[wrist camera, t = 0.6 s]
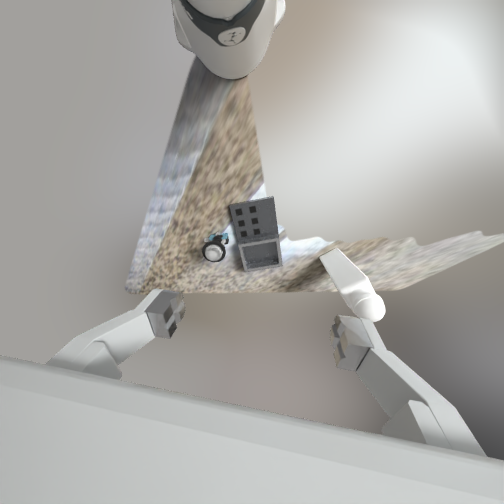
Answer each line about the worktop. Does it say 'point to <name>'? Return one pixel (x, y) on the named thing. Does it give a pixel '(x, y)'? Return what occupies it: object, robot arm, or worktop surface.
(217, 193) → the worktop surface
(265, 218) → the organizer
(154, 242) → the worktop surface
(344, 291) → the white bottle
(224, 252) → the push button
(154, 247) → the worktop surface
